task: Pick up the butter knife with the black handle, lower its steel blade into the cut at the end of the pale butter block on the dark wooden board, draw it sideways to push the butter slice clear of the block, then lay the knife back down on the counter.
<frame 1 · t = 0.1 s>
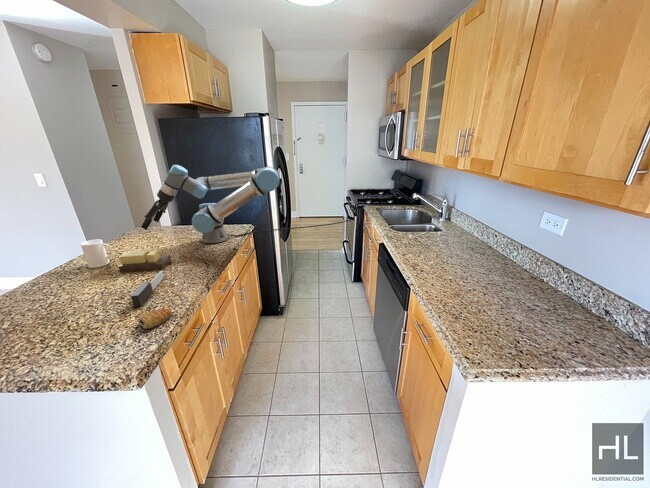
hand: (149, 224, 141), 15 cm above the countertop, tool tilted 35°, fingers open, 13 cm apart
butter knife: (144, 299, 101), on the countertop
butter slice: (154, 259, 128), point 3 cm above the countertop, touching butter board
butter board: (146, 265, 128), on the countertop
pastry: (155, 322, 89), on the countertop
butter: (136, 261, 127), point 3 cm above the countertop, touching butter board
mug: (103, 264, 131), on the countertop
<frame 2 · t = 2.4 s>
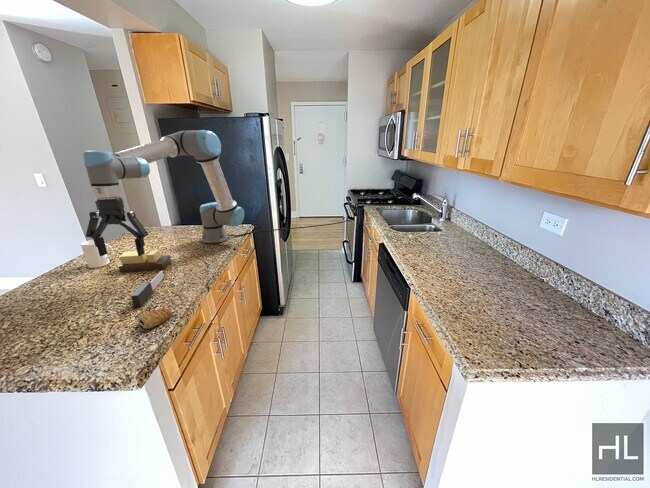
hand: (122, 254, 97), 18 cm above the countertop, tool pointing down, fingers open, 13 cm apart
nothing on the countertop moved.
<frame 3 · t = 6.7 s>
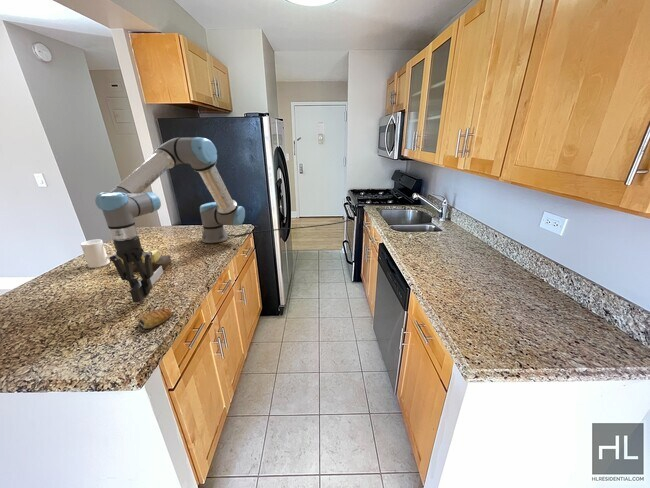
hand: (143, 294, 100), 2 cm above the countertop, tool pointing down, fingers closed on butter knife, 2 cm apart
butter knife: (143, 294, 100), point 2 cm above the countertop, touching gripper
everything else where it was.
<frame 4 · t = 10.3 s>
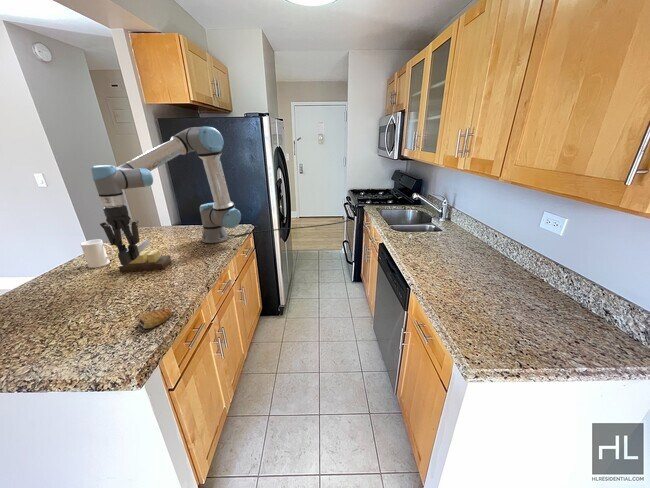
hand: (130, 259, 112), 10 cm above the countertop, tool pointing down, fingers closed on butter knife, 2 cm apart
butter knife: (130, 259, 112), point 10 cm above the countertop, touching gripper
everything else where it was.
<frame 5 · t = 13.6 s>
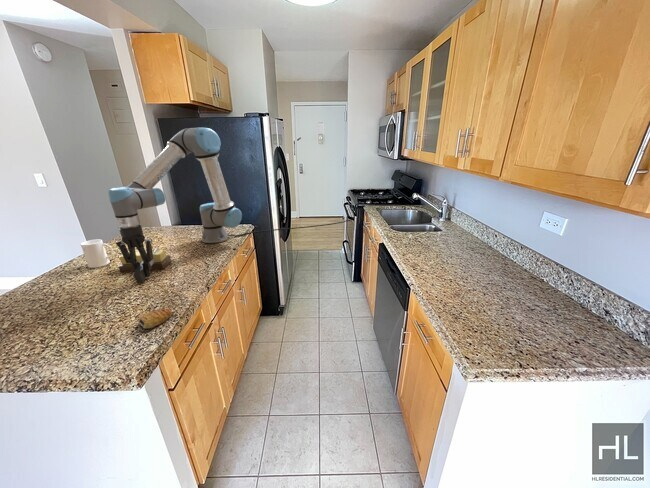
hand: (144, 275, 116), 1 cm above the countertop, tool pointing down, fingers closed on butter knife, 2 cm apart
butter knife: (144, 275, 116), point 1 cm above the countertop, tilted 11°, touching butter slice, gripper
butter slice: (160, 259, 128), point 3 cm above the countertop, touching butter knife
everything else where it was.
when the fingers open (0 cm above the countertop, at t = 19.8 s): butter knife stays where it is, on the countertop.
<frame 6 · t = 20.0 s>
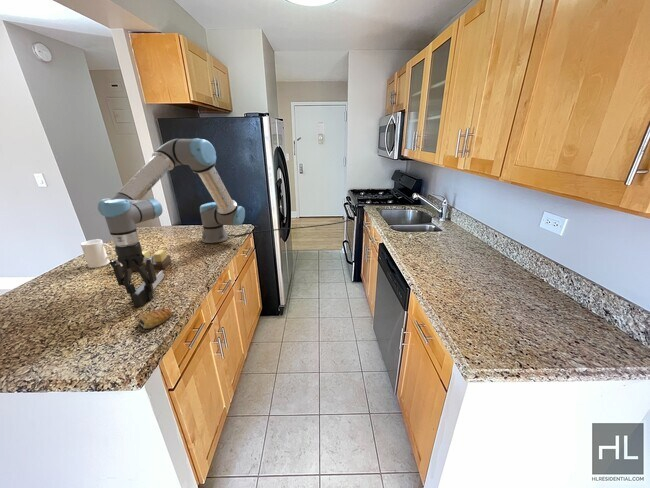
hand: (142, 299, 101), 0 cm above the countertop, tool pointing down, fingers open, 5 cm apart
butter knife: (144, 299, 101), on the countertop
butter slice: (161, 259, 128), point 3 cm above the countertop, touching butter board
everything else where it was.
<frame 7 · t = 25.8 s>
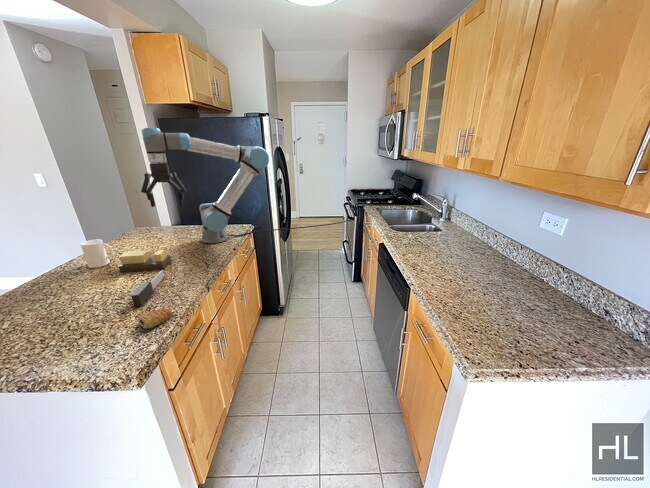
hand: (167, 205, 133), 27 cm above the countertop, tool pointing down, fingers open, 13 cm apart
nothing on the countertop moved.
at the end: butter slice 0.5 cm from the target spot on the countertop beside the butter, resting on butter board; butter moved 0.0 cm from its start; the gripper is holding nothing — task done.
